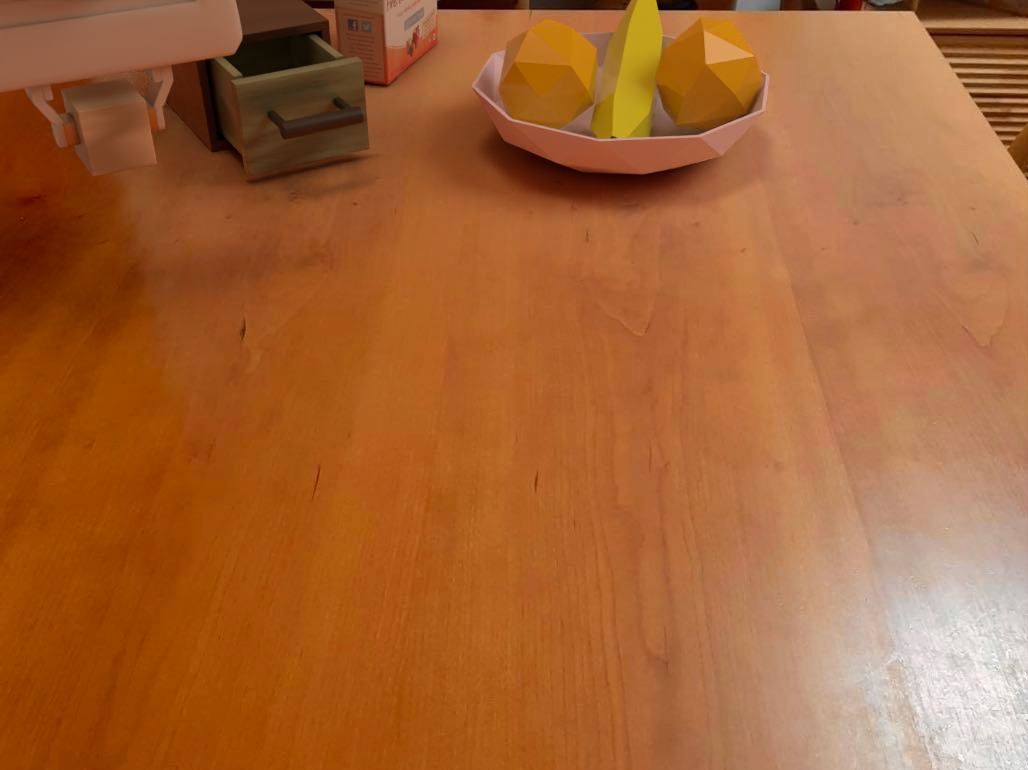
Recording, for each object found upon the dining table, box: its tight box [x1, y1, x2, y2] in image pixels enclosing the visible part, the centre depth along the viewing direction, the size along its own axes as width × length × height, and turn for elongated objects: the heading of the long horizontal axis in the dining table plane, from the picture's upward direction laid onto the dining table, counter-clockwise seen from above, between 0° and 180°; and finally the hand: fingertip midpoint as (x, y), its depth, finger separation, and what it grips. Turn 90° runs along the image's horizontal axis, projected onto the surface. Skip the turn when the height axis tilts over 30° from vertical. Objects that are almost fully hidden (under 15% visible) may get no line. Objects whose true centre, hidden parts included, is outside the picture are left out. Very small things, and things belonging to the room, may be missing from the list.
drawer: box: [205, 32, 370, 176], centre depth 103 cm, size 19×11×8 cm, turn 30°
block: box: [60, 77, 158, 178], centre depth 82 cm, size 5×5×5 cm
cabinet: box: [165, 0, 332, 152], centre depth 110 cm, size 16×13×10 cm
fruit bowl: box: [470, 0, 771, 175], centre depth 105 cm, size 28×27×11 cm
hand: (110, 136), depth 82 cm, fingers closed on block, 4 cm apart
